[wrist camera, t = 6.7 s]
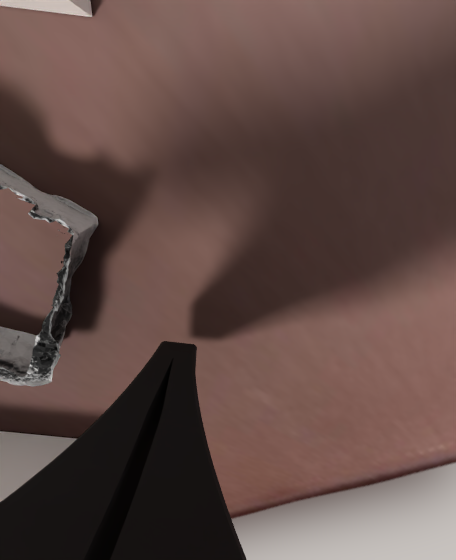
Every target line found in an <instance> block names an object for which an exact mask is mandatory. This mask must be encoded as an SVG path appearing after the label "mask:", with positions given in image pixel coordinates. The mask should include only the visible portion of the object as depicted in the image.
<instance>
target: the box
mask: <svg viewBox="0 0 456 560" xmlns="http://www.w3.org/2000/svg"><path fill="white" fill-rule="evenodd" d="M0 6H7V7H15V8H23V9H31V10H39V11H47V12H55V13H63V14H71V15H79V16H87V17H92V9H91V1H90V0H0ZM75 440H76V438H65V437H55V436H45V435H35V434H24V433H14V432H4V431H0V502H1V501H3V500H4V499H5V498H7V497H8V496H9V495H10V494H12V493H13V492H14V491H16V490H17V489H18V488H19V487H21V486H22V485H23V484H24V483H26V482H27V481H28V480H29V479H31V478H32V477H33V476H34V475H35V474H37V473H38V472H39V471H40V470H42V469H43V468H44V467H45V466H47V465H48V464H49V463H50V462H51V461H53V460H54V459H55V458H56V457H57V456H59V455H60V454H61V453H62V452H63V451H64V450H65V449H67V448H68V447H69V446H70V445H71V444H72V443H73V442H74V441H75Z"/></svg>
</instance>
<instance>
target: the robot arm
mask: <svg viewBox="0 0 456 560" xmlns="http://www.w3.org/2000/svg"><path fill="white" fill-rule="evenodd" d="M196 350H197V347H196V346H195V345H194V344H185V343H176V342H167V341H163V342H162V343H161V344H160V346H159V347H158V349H157V350H156V352H155V353H154V354H153V356H152V357H151V359H150V360H149V361H148V363H147V364H146V365H145V367H144V368H143V369H142V370H141V372H140V373H139V374H138V375H137V377H136V378H135V379H134V380H133V381H132V383H131V384H130V385H129V386H128V387H127V389H126V390H125V391H124V392H123V393H122V394H121V395H120V396H119V397H118V399H117V400H116V401H115V402H114V403H113V404H112V405H111V406H110V407H109V408H108V409H107V410H106V411H105V412H104V414H103V415H102V416H101V417H100V418H99V419H98V420H97V421H96V422H95V423H93V424H92V425H91V426H90V427H89V428H88V429H87V430H86V431H85V432H84V433H83V434H82V435H81V436H80V437H79V438H78V439H76V440H75V441H74V442H73V443H72V444H71V445H70V446H69V447H68V448H67V449H65V450H64V451H63V452H62V453H61V454H60V455H59V456H57V457H56V458H55V459H54V460H53V461H51V462H50V463H49V464H48V465H47V466H45V467H44V468H43V469H42V470H40V471H39V472H38V473H37V474H35V475H34V476H33V477H32V478H31V479H29V480H28V481H27V482H26V483H24V484H23V485H22V486H21V487H19V488H18V489H17V490H16V491H14V492H13V493H12V494H10V495H9V496H8V497H7V498H5V499H4V500H3V501H1V502H0V560H246V557H245V554H244V552H243V549H242V547H241V544H240V542H239V539H238V536H237V534H236V531H235V529H234V526H233V523H232V520H231V517H230V514H229V512H228V509H227V506H226V503H225V500H224V497H223V494H222V491H221V488H220V485H219V482H218V478H217V475H216V472H215V469H214V466H213V462H212V459H211V455H210V451H209V448H208V444H207V440H206V436H205V431H204V427H203V422H202V418H201V412H200V407H199V401H198V394H197V386H196V376H195V366H196Z"/></svg>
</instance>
